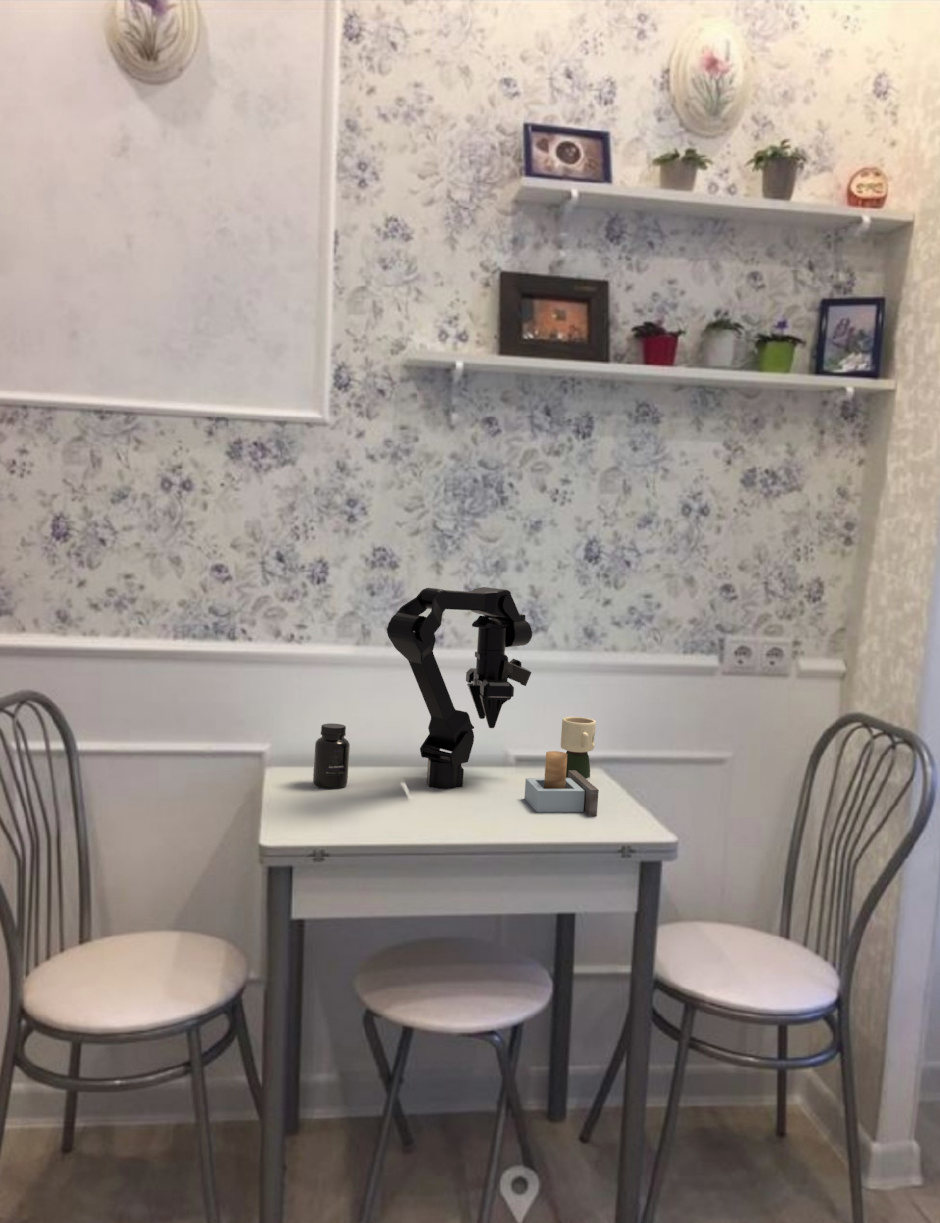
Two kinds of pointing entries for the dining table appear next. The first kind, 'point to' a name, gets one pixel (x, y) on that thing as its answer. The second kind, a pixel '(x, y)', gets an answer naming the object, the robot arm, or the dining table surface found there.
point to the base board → (586, 792)
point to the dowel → (555, 770)
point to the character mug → (578, 743)
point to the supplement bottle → (331, 757)
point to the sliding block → (554, 796)
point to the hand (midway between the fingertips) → (486, 723)
